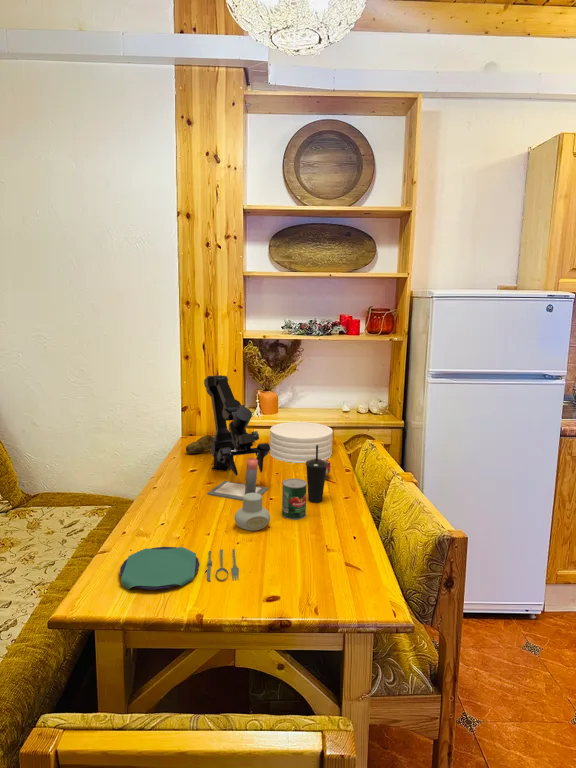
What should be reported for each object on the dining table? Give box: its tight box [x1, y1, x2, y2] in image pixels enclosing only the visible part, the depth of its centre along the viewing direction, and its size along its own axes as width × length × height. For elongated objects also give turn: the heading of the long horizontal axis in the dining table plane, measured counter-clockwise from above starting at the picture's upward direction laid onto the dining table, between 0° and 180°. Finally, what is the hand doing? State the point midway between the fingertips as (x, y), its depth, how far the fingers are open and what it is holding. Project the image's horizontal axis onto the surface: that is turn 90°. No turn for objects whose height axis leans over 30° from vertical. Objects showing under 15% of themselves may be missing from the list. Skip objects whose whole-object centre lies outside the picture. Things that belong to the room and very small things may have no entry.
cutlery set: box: [119, 546, 240, 591], centre depth 130 cm, size 20×30×2 cm, turn 98°
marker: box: [244, 457, 259, 494], centre depth 176 cm, size 4×4×13 cm
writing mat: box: [206, 480, 269, 502], centre depth 182 cm, size 18×13×1 cm
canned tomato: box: [281, 478, 308, 521], centre depth 164 cm, size 8×8×11 cm
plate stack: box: [269, 421, 334, 464], centre depth 227 cm, size 28×28×12 cm
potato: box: [185, 434, 214, 455], centre depth 225 cm, size 8×13×8 cm, turn 91°
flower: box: [323, 459, 332, 480], centre depth 197 cm, size 10×9×8 cm
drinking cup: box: [305, 445, 328, 504], centre depth 175 cm, size 8×8×20 cm
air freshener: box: [234, 493, 271, 532], centre depth 155 cm, size 11×8×10 cm
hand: (249, 473), depth 177 cm, fingers open, 9 cm apart
